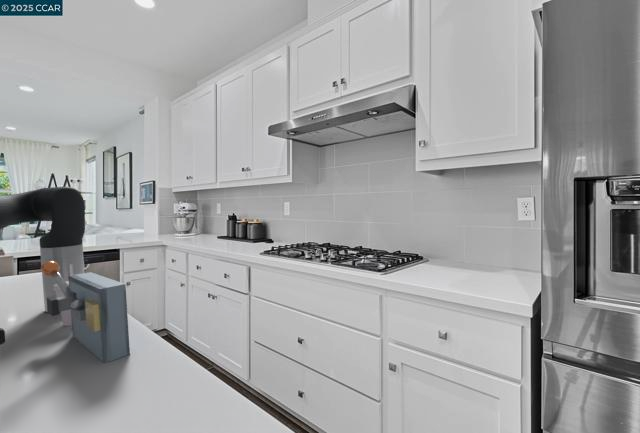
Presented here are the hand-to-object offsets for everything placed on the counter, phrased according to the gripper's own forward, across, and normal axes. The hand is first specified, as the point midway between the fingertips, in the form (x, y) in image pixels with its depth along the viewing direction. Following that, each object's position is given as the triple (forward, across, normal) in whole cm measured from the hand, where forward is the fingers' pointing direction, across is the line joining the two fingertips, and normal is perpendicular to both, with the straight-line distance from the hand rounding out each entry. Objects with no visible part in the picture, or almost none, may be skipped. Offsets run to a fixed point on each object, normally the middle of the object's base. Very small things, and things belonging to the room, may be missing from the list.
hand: (4, 335), depth 50 cm
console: (+14, +7, +8) cm, 18 cm away
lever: (+11, +7, -1) cm, 13 cm away
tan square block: (+13, 0, +2) cm, 13 cm away
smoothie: (+14, +27, +8) cm, 32 cm away
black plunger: (+10, +14, +2) cm, 17 cm away
